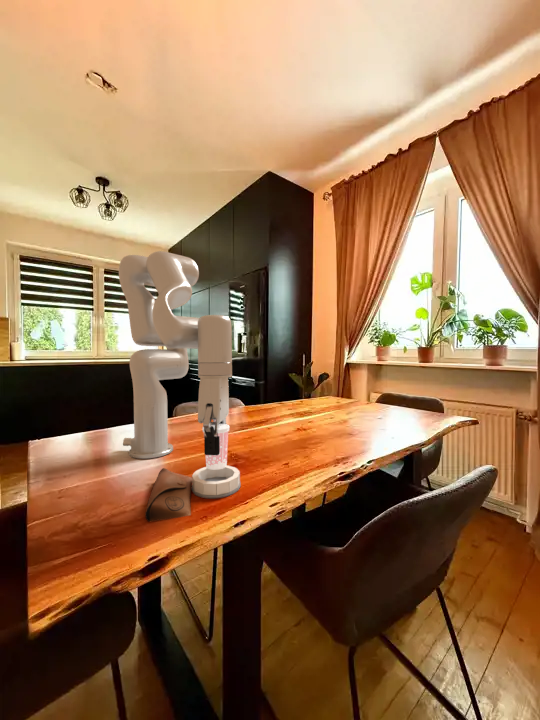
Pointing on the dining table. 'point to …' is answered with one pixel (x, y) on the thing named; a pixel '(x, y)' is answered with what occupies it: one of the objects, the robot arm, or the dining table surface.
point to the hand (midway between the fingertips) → (216, 448)
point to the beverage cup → (220, 460)
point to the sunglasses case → (169, 497)
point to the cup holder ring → (216, 482)
